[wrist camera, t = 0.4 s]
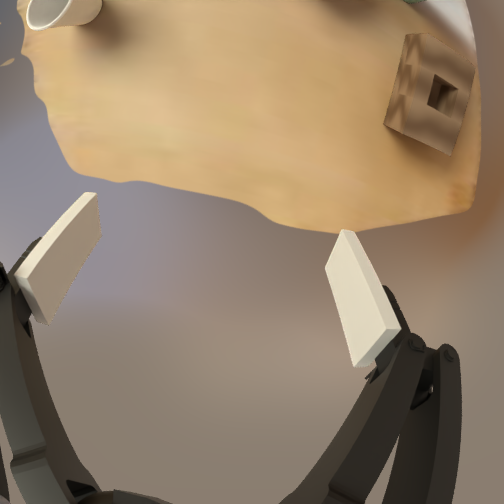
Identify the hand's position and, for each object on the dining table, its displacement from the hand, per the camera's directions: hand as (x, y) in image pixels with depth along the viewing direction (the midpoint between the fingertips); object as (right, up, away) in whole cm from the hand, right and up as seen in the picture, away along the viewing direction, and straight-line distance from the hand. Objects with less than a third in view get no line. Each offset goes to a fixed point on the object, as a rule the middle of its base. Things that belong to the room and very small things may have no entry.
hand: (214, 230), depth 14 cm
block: (+28, +24, +16) cm, 40 cm away
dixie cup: (-22, +35, +7) cm, 42 cm away
